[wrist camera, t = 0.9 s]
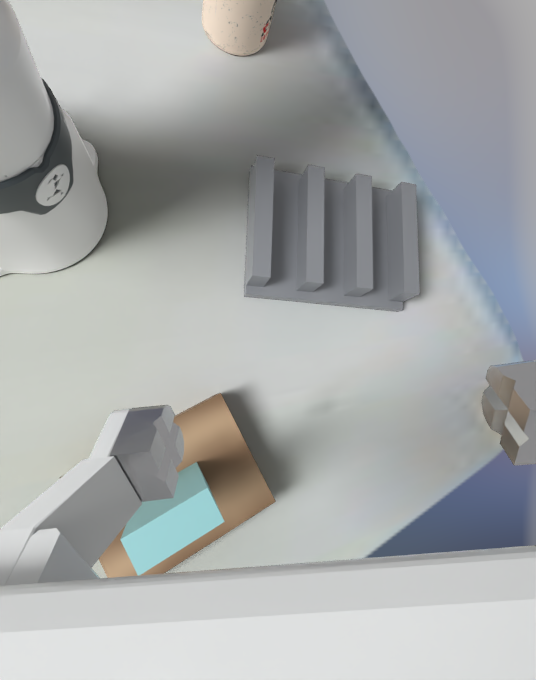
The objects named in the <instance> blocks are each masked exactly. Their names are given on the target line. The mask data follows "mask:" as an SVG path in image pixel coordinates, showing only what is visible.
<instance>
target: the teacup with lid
mask: <svg viewBox="0 0 536 680" xmlns="http://www.w3.org/2000/svg"><path fill="white" fill-rule="evenodd" d="M276 2H277V0H203V9H202V24H203V28H204V30H205V32H206V34H207V36H208V37H209V39H210V40H211V41H212V42H213V43H214V44H215V45H216V46H217V47H218V48H220V49H221V50H223V51H225V52H227V53H230V54H233V55H239V56H246V55H251V54H254V53H256V52H257V51H259V50H260V49H261V48H262V47H263V46H264V44H265V42H266V40H267V37H268V33H269V29H270V25H271V21H272V17H273V13H274V10H275V6H276Z"/></svg>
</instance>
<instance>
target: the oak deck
mask: <svg viewBox="0 0 536 680" xmlns="http://www.w3.org/2000/svg"><path fill="white" fill-rule="evenodd" d="M173 423H175V424H176V425H178V426H179V427H180V428H181V431H182V434H183V438H184V455H183V459H182V462H181V463H180V464H179V465H178V466H177V467H176V471H177V473H178V472H180V471H181V470H183V469H185V468H187V467H188V466H190V465H192V464H194V463H195V462H197V464H198V466H199V468H200V470H201V472H202V474H203V476H204V478H205V480H206V482H207V484H208V486H209V488H210V490H211V492H212V495H213V497H214V499H215V501H216V504H217V506H218V508H219V510H220V513H221V515H222V517H223V519H224V522H223V523H222V524H220V525H219V526H217V527H215V528H214V529H212V530H211V531H209V532H207V533H206V534H204V535H203V536H201V537H200V538H198V539H196V540H195V541H193V542H192V543H190V544H189V545H187V546H185V547H184V548H182V549H181V550H179V551H177V552H176V553H174V554H173V555H171V556H170V557H168V558H166V559H165V560H163V561H162V562H160V563H158V564H157V565H155V566H154V567H152V568H151V569H149V570H147V571H146V572H144V573H143V574H141V575H152V574H164V573H165V572H167V571H168V570H170V569H171V568H173V567H174V566H176V565H178V564H179V563H181V562H182V561H184V560H185V559H187V558H188V557H190V556H192V555H193V554H195V553H196V552H198V551H199V550H201V549H202V548H204V547H206V546H207V545H209V544H210V543H212V542H213V541H215V540H216V539H218V538H220V537H221V536H223V535H224V534H226V533H227V532H229V531H230V530H232V529H234V528H235V527H237V526H238V525H240V524H241V523H243V522H244V521H246V520H248V519H249V518H251V517H252V516H254V515H255V514H257V513H258V512H260V511H262V510H263V509H265V508H266V507H268V506H269V505H271V504H272V503H274V502H276V501H275V499H274V497H273V495H272V493H271V492H270V490H269V488H268V486H267V484H266V482H265V480H264V478H263V476H262V474H261V472H260V470H259V468H258V466H257V464H256V462H255V460H254V458H253V456H252V454H251V452H250V450H249V448H248V446H247V444H246V442H245V440H244V438H243V436H242V434H241V432H240V430H239V428H238V426H237V424H236V422H235V420H234V419H233V417H232V415H231V413H230V411H229V409H228V407H227V405H226V403H225V401H224V399H223V397H222V395H221V393H219V394H216V395H214V396H212V397H210V398H208V399H206V400H204V401H202V402H200V403H199V404H197V405H195V406H193V407H191V408H189V409H187V410H185V411H183V412H181V413H180V414H178V415H176V416H174V420H173ZM63 476H64V475H63ZM60 478H61V477H60ZM125 526H126V525H125ZM125 526H124V527H123V529H122V530H121V531H120V532H119V534H118V535H117V536H116V537H115V539H114V540H113V541H112V543H111V544H110V545H109V546H108V548H107V549H106V550H105V551H104V553H103V554H102V555H101V556H100V558H99V561H100V563H101V565H102V567H103V569H104V571H105V573H106V575H107V577H108V578H112V577H126V576H138V575H137V573H136V571H135V569H134V566H133V564H132V562H131V560H130V558H129V556H128V554H127V552H126V550H125V548H124V546H123V544H122V542H121V540H120V539H121V537H122V534H123V531H124V529H125Z"/></svg>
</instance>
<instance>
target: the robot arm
mask: <svg viewBox="0 0 536 680" xmlns="http://www.w3.org/2000/svg"><path fill="white" fill-rule="evenodd" d="M97 170H98V156H97V153H96V151H95V148H94V147H93V145H92V144H91V143H89V142H88V141H86V140H84V139H81V137H80V135H79V133H78V131H77V129H76V127H75V125H74V122H73V120H72V118H71V117H70V115H69V114H68V113H67V112H66V111H65V110H64V109H61V107H60V105H59V104H58V102H57V100H56V98H55V97H54V95H53V93H52V91H51V89H50V88H49V86H48V85H47V84H46V82H45V81H44V80H43V79H42V78H41V76H40V74H39V71H38V69H37V66H36V64H35V61H34V59H33V56H32V54H31V51H30V49H29V46H28V44H27V41H26V39H25V36H24V34H23V31H22V29H21V26H20V24H19V22H18V19H17V17H16V14H15V12H14V10H13V8H12V6H11V4H10V2H9V1H8V0H0V276H2V275H5V274H8V273H29V274H38V273H48V272H53V271H57V270H61V269H63V268H66V267H68V266H71V265H73V264H75V263H76V262H78V261H80V260H81V259H82V258H84V257H85V256H86V255H87V254H88V253H90V252H91V251H92V249H93V248H94V247H95V246H96V245H97V243H98V242H99V240H100V238H101V237H102V235H103V232H104V230H105V227H106V223H107V216H108V207H107V200H106V196H105V193H104V191H103V188H102V186H101V184H100V181H99V179H98V175H97ZM486 380H487V381H488V383H489V384H490V386H489V387H488V388H487V389H486V390H485V391H484V392H483V396H482V408H483V414H484V416H485V419H486V421H487V423H488V424H489V426H490V428H491V429H492V430H494V431H496V432H497V433H499V434H501V435H502V437H501V441H500V444H501V446H502V447H503V449H504V450H505V452H506V453H507V455H508V457H509V458H510V460H511V461H512V463H513V465H528V464H536V360H534V361H525V362H517V363H509V364H501V365H493V366H490V367H489V369H488V370H487V375H486ZM174 416H175V414H174V412H173V410H172V408H171V406H169V405H160V406H150V407H139V408H132V409H122V410H114V411H113V412H112V413H110V415H109V417H108V419H107V421H106V423H105V425H104V427H103V429H102V431H101V433H100V436H99V438H98V440H97V442H96V444H95V446H94V448H93V450H92V452H91V454H90V456H89V458H88V459H84V460H82V461H80V462H79V463H78V464H77V465H76V466H74V467H73V468H72V469H71V470H70V471H68V472H67V473H66V474H65V475H64V476H62V477H61V478H60V479H59V480H58V481H56V482H55V483H54V484H53V485H52V486H50V487H49V488H48V489H47V490H46V491H44V492H43V493H42V494H41V495H40V496H38V497H37V498H36V499H35V500H34V501H32V502H31V503H30V504H29V505H28V506H26V507H25V508H24V509H23V510H22V511H20V512H19V513H18V514H17V515H16V516H14V517H13V518H12V519H11V520H10V521H8V522H7V523H6V524H5V525H4V526H2V527H1V528H0V680H536V545H535V546H521V547H508V548H495V549H481V550H468V551H455V552H443V553H429V554H416V555H403V556H389V557H376V558H363V559H350V560H337V561H324V562H311V563H298V564H284V565H271V566H258V567H245V568H232V569H218V570H205V571H192V572H179V573H165V574H152V575H139V576H126V577H112V578H99V576H98V575H97V574H96V573H95V572H94V571H93V570H92V567H93V565H94V564H95V563H96V561H97V560H98V559H99V558H100V556H101V555H102V554H103V553H104V551H105V550H106V549H107V548H108V546H109V545H110V544H111V543H112V541H113V540H114V539H115V537H116V536H117V535H118V534H119V532H120V531H121V530H122V529H123V527H124V526H125V525H126V524H127V522H128V521H129V520H130V518H131V517H132V516H133V515H134V513H135V512H136V511H137V510H138V508H139V507H140V506H141V505H142V502H146V501H154V500H162V499H170V498H174V494H175V490H176V485H177V481H178V477H179V475H178V473H177V471H176V467H177V466H178V465H179V464H180V463H181V462H182V459H183V455H184V438H183V434H182V431H181V428H180V427H179V426H178V425H176V424H175V423H173V420H174Z"/></svg>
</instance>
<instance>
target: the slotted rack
mask: <svg viewBox="0 0 536 680" xmlns="http://www.w3.org/2000/svg"><path fill="white" fill-rule="evenodd" d="M274 161H275V158H269V157H264V156H259V155H257V157H256V160H255V163H254V166H251V168H250V172H249V195H248V217H247V239H246V261H245V283H244V297H254V298H264V299H275V300H285V301H295V302H305V303H315V304H325V305H335V306H345V307H355V308H365V309H376V310H386V311H396V312H398V311H401V310H403V301H406V300H408V299H410V298H412V297H415V296H417V295H419V294H420V285H419V256H418V227H417V199H416V184H410V183H405V182H401V183H400V184H399V185H398V186H397V187H396V188H395V189H394V190H393V191H392V190H386V189H381V188H375V187H372V176H367V175H362V174H355V176H354V177H353V178H352V179H351V181H350V182H349V183H347V182H341V181H335V180H330V179H324V177H325V168H324V167H318V166H313V165H308V166H307V168H306V170H305V171H304V173H303V175H302V174H296V173H290V172H285V171H279V170H274Z"/></svg>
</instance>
